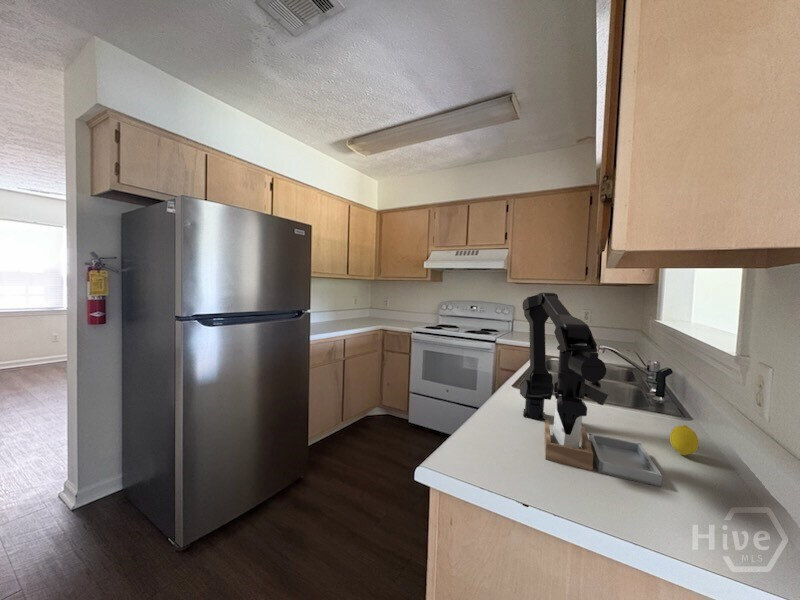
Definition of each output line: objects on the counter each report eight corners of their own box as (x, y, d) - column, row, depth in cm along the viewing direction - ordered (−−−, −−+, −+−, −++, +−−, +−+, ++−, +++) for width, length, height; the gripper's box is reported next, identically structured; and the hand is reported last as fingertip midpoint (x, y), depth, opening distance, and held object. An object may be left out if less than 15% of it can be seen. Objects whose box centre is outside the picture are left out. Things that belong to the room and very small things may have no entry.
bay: (544, 433, 92) (545, 420, 92) (583, 441, 88) (584, 427, 88) (545, 459, 78) (546, 443, 78) (592, 470, 74) (593, 453, 74)
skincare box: (551, 441, 87) (553, 397, 86) (567, 441, 87) (570, 398, 86) (563, 453, 81) (566, 406, 80) (580, 453, 81) (583, 407, 80)
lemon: (670, 447, 86) (672, 419, 86) (697, 456, 82) (700, 425, 82) (667, 454, 83) (670, 424, 82) (696, 463, 79) (699, 432, 78)
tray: (588, 442, 87) (589, 433, 87) (639, 453, 83) (640, 443, 83) (598, 472, 73) (599, 461, 73) (660, 487, 68) (661, 475, 68)
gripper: (614, 385, 71) (609, 452, 72) (600, 366, 88) (596, 421, 89) (559, 377, 75) (555, 441, 76) (555, 361, 92) (552, 413, 93)
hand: (566, 428), depth 83 cm, fingers closed on skincare box, 7 cm apart
